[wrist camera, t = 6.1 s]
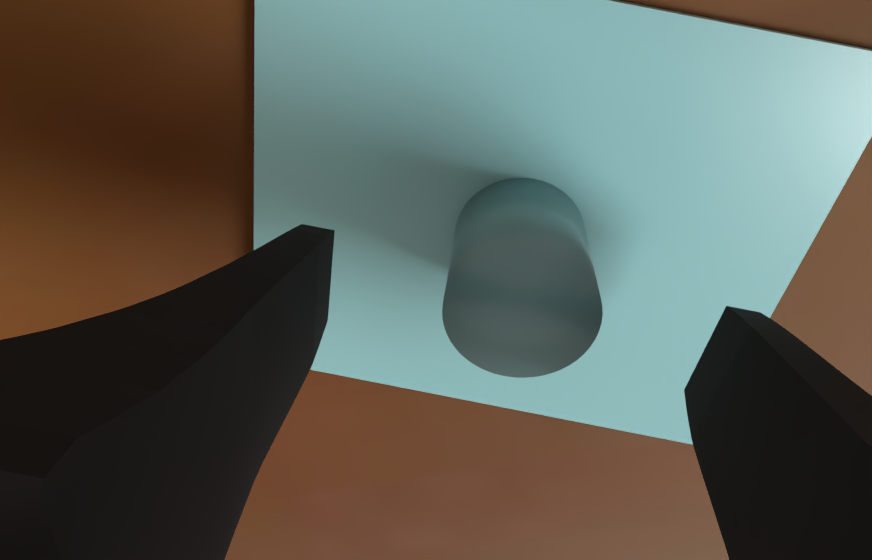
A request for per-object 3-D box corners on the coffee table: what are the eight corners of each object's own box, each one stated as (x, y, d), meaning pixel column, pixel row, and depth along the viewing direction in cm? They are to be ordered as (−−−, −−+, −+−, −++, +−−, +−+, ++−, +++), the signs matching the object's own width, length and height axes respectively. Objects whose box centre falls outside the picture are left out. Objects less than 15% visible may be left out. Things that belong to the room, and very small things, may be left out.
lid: (885, 47, 12) (1039, 107, 8) (688, 418, 17) (733, 548, 13) (273, -71, 12) (174, -60, 8) (266, 335, 17) (204, 444, 13)
